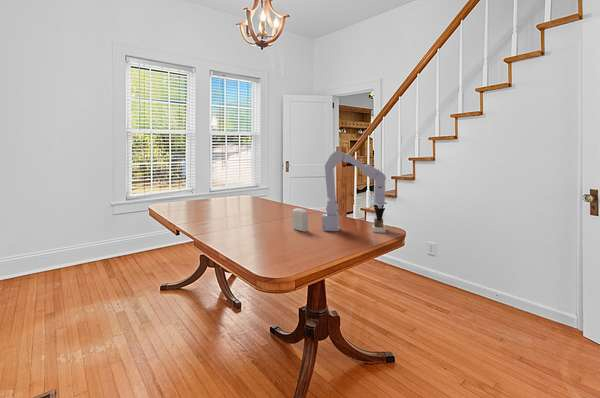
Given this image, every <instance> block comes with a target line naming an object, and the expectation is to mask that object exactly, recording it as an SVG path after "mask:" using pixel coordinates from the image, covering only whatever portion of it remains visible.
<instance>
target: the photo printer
mask: <svg viewBox="0 0 600 398" xmlns="http://www.w3.org/2000/svg"><path fill="white" fill-rule="evenodd" d="M308 214H309V213H308V211H307V210H305V209H303V208H298V207H296V208H294V209H292V216H291V217H292V229H293V230H296V231H300V232H304V233H305V232H308V231H309V225H308V224H309V223H308V222H309V221H308Z"/></svg>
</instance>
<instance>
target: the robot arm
mask: <svg viewBox="0 0 600 398" xmlns="http://www.w3.org/2000/svg"><path fill="white" fill-rule="evenodd" d="M341 162H342V163H348V164H351V165H353V166H355V167H357V168H358V169H360V170H361V173H362V174H363V175H365V176H366V177H368V178H369V179H371V180H374V187H373V191H374V192H373V208H374V210H375V216H376V217H375V218H377V221H381V220H382V218H383V216H384V215H383V214H384V211H385V210H386V208H385V207H384V206H385V205H388V202H385V199H386V183H385V182H386V181H387V178H386V175H385V174H384V172H382V171H381V170H380V169H379V168H378V169H376V168H375V167H374V166H373V165H372V164H370V163H369V164H368V163H366V164H364V163H362V162H361V161H359V160H358V159H357V158H355V157H354V156H352V155H351V154H349V153H346V152H343V151H341V150H336V151H334V152H332V153H331V154H330V155H329V157H328V159H327V161H326V162H325V165H324V175H325V185H326V186H325V187H326V195H327V196H326V199H327V200H326V201H327V202H326V208H325V211H326V213H323V214H322V216H321V218H322V219H321V228H322V230H321V231H323V232H324V231H325V232H326V231H327V232H340V230H341V226H340V213H339V212H338V210H339V204H338V201H337V195H336V186H335V185H336V184H335V183H336V182H335V181H336V180H335V167H336V166H337V165H338V164H340V163H341Z"/></svg>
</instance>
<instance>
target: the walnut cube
mask: <svg viewBox="0 0 600 398" xmlns="http://www.w3.org/2000/svg"><path fill="white" fill-rule="evenodd" d="M373 220H374V221H373V224H374V226H375V227H383V225H384V219H383V217H382V220H381V221H377V217H374V218H373Z"/></svg>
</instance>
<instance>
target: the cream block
mask: <svg viewBox="0 0 600 398" xmlns="http://www.w3.org/2000/svg"><path fill="white" fill-rule="evenodd" d="M371 228H372V229H371V232H372V233H386V230H387V228H386V224H383V227H375V226H374V223H373V224H372V227H371Z"/></svg>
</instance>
